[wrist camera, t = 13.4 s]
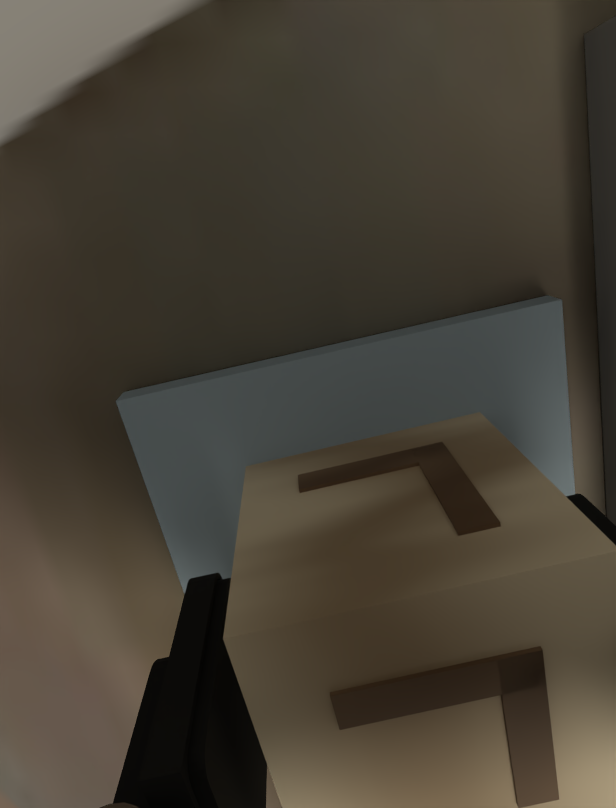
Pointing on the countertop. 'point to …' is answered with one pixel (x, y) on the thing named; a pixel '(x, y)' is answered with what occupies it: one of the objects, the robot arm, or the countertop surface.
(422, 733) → the letter cube
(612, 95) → the charcoal tray
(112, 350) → the countertop surface
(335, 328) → the countertop surface
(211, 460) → the mat
